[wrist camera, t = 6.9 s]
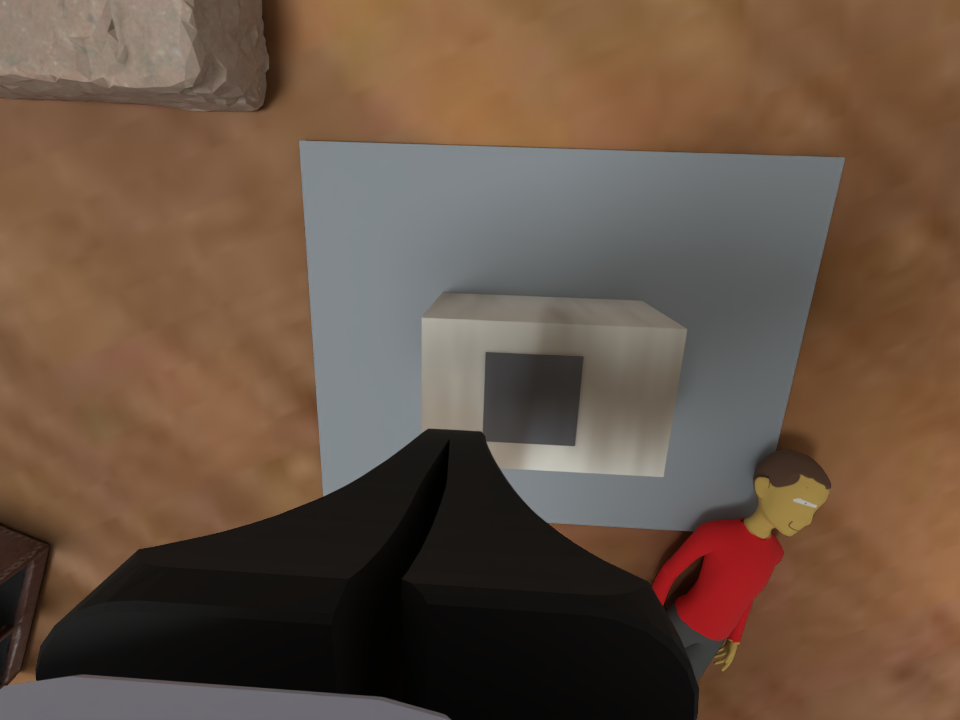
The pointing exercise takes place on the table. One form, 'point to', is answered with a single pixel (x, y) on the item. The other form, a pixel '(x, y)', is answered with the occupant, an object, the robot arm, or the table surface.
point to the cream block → (554, 380)
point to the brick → (135, 52)
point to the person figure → (739, 557)
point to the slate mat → (568, 295)
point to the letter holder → (18, 596)
